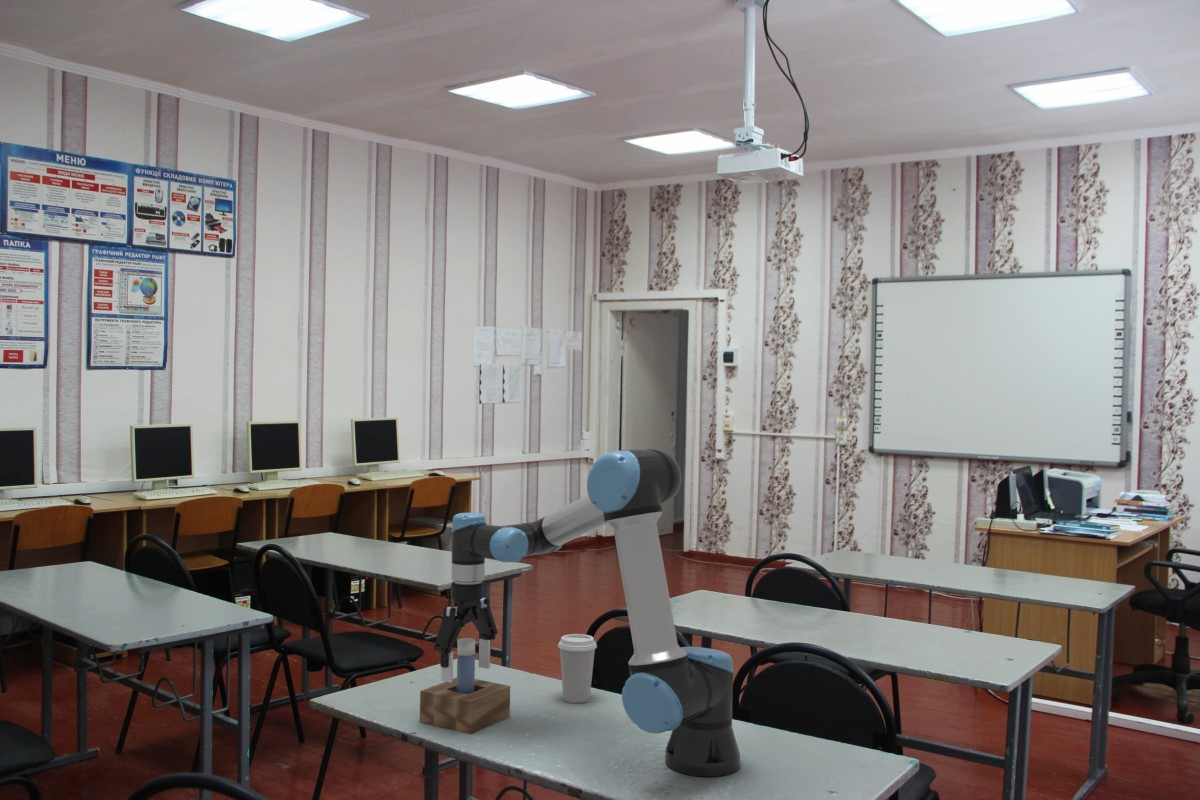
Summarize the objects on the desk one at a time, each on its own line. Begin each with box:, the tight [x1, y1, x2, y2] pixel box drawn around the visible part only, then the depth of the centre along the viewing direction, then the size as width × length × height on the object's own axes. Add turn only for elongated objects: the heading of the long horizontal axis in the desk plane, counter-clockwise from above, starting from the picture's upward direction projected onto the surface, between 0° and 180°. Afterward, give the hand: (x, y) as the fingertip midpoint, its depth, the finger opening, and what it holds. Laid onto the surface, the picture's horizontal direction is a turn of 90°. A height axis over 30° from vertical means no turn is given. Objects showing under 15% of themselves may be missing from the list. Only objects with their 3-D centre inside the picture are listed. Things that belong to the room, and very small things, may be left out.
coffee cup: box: [557, 633, 598, 704], centre depth 244 cm, size 10×10×15 cm
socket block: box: [419, 677, 511, 735], centre depth 228 cm, size 14×14×7 cm
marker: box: [456, 637, 476, 694], centre depth 228 cm, size 4×4×18 cm
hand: (466, 674), depth 228 cm, fingers open, 13 cm apart
